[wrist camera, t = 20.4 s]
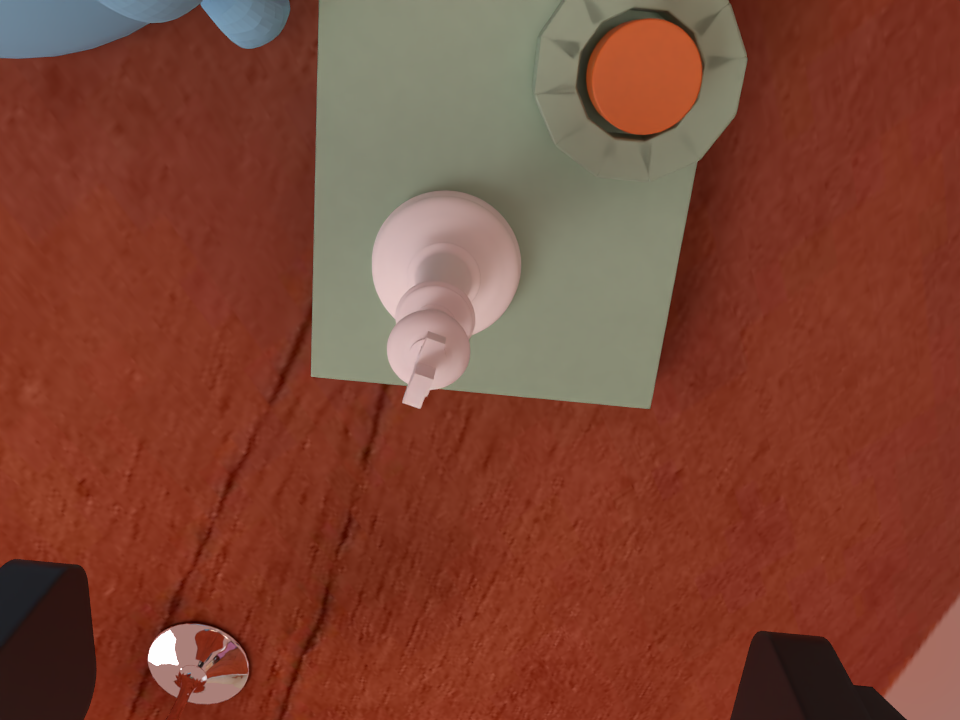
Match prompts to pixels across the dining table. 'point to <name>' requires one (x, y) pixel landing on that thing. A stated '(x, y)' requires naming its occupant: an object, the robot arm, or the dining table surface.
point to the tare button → (644, 75)
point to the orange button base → (510, 181)
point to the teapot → (124, 22)
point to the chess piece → (442, 283)
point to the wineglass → (197, 665)
